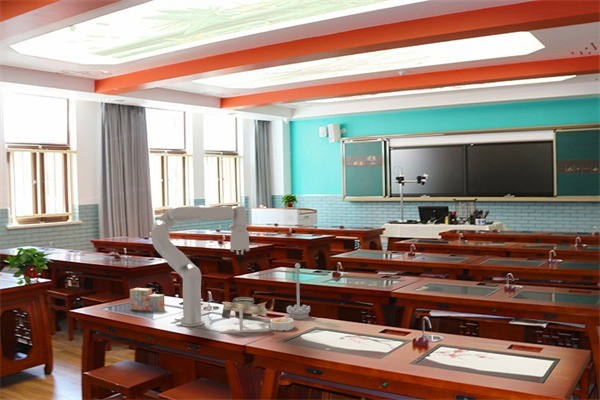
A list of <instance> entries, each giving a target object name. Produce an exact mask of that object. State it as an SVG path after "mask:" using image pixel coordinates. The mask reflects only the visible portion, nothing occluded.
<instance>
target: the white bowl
mask: <svg viewBox="0 0 600 400" xmlns="http://www.w3.org/2000/svg"><path fill="white" fill-rule="evenodd" d="M276 319H279V320H280V321H281V323H278V322H274V320H276ZM294 322H295V321H294V319H292V318H289V317H275V318H271V319H270V326H269V329H270V330H272V331H276V330H278V332H281V331H282V332H284V331H283V330H286V331H290V330H293V328H295V327H294V325H295V324H294ZM279 330H281V331H279Z"/></svg>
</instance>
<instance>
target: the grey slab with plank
mask: <svg viewBox="0 0 600 400" xmlns="http://www.w3.org/2000/svg"><path fill="white" fill-rule="evenodd" d="M239 309H242V310H243V312H244V313H250V314H252V315H255V316H256V315H257V316H263V317H267V313H268V311H267V308H264V307H261V305H260V304H254V303H253V304H251V306H248V305H242V304H236V303H234V302H230V301H229V302H228V301H224V303H223V308H222V312H221V318H223V319H228V320H231V319H230V318H231V317H230V316H231V312H232V311H234V312H235V311H238V312H239Z"/></svg>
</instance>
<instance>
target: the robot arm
mask: <svg viewBox="0 0 600 400" xmlns="http://www.w3.org/2000/svg"><path fill="white" fill-rule="evenodd" d="M214 221H215V222H216V221H217V222H218V221H232V225H231V226H229V229H230V231H231V232H230V241H229V242H230V244H229V245H230V250H229V251H230V252H233V253H235V254H236V256H237V257H236V260H237V261H238V263H242V261H244V258H243V257H244V254H245V253H246V252H249V251H250V250H251V249H250V240H249V238H250V237H249V231H248V230H247V207H246V206H245V205H234V206H229V205H221V206H207V205H172V206H171V207H169V208H168V209H167V210H166V211H165V212H164V213H163V214H162V215H161V216H160V217H159V218H157V219H156V221H155V222H153V224H152V226H151V231H152V232H151V243H152V245H153V248H154V249H155V250H156V252H157V253H158V254H159V255H160V256H161V257H162V258H163V259H164V260H165V261H166V263H167V264H168V265H169V267H171V268H172V269H173V270H174V271H175V272H176V273H177V274H178V275H179V276H180V277H181V278H182V309H183V310H182V312H183V313H182V314H183V315H181V316H175V317H174V321H175V322H180V324H179V325H180V326H182V327H188V328H189V327H198V326H199V327H200V326H202V325H204V324H205V320H204V319H202V293H201V291H202V290H201V289H202V287H201V286H202V272H201V270H200V268H199V267H198V266H196V264H194V263H193V262H192V261H191V260H190V259H189V258H188V256H186V255H185V254H184V252H183V251H182V250H179V249H178V248H177V247H176V246H175V245H174V243H173V242H172V241H171V240H170V238H169V234H170V230H171V229H172V228H173V227H174V226H176V224H177V223H187V222H188V223H191V222H195V223H196V222H214ZM239 251H240V252H239Z"/></svg>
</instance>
